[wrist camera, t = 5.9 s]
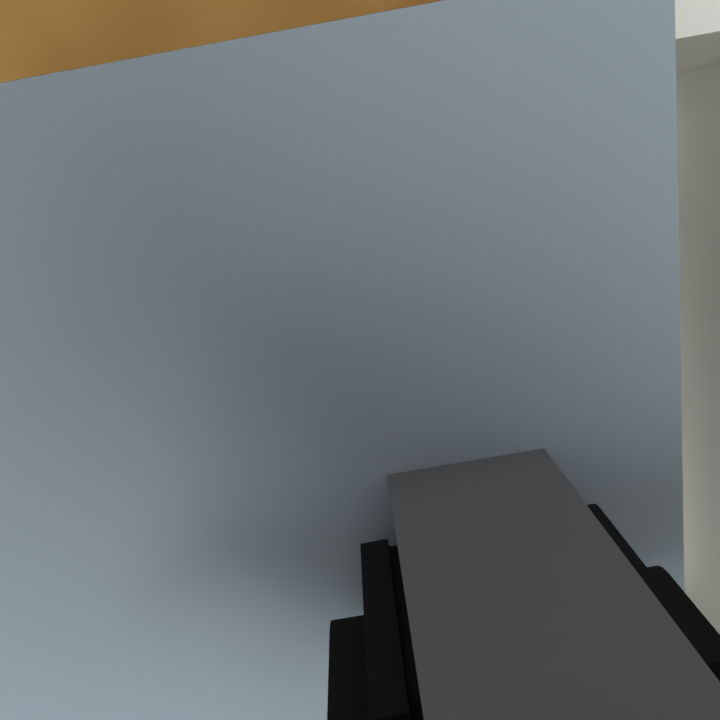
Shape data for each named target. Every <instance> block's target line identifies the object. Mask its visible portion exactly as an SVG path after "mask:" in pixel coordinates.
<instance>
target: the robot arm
mask: <svg viewBox="0 0 720 720" xmlns="http://www.w3.org/2000/svg"><path fill="white" fill-rule="evenodd" d="M587 506H588V507H589V509H590V510H591V511H592V513H593V514H594V515H595V517H596V518H597V519H598V521H599V522H600V523H601V525H602V526H603V527H604V529H605V530H606V531H607V533H608V534H609V535H610V537H611V538H612V539H613V541H614V542H615V543H616V545H617V546H618V547H619V549H620V550H621V551H622V553H623V554H624V555H625V557H626V558H627V559H628V561H629V562H630V563H631V565H632V566H633V567H634V569H635V570H636V571H637V573H638V574H639V575H640V577H641V578H642V579H643V581H644V582H645V583H646V584H647V586H648V587H649V588H650V590H651V591H652V592H653V594H654V595H655V596H656V598H657V599H658V600H659V602H660V603H661V604H662V606H663V607H664V608H665V610H666V611H667V612H668V614H669V615H670V616H671V618H672V619H673V620H674V622H675V623H676V624H677V626H678V627H679V628H680V630H681V631H682V632H683V634H684V635H685V636H686V638H687V639H688V640H689V642H690V643H691V644H692V646H693V647H694V648H695V650H696V651H697V652H698V654H699V655H700V656H701V658H702V659H703V660H704V662H705V663H706V664H707V666H708V667H709V668H710V670H711V671H712V672H713V674H714V675H715V676H716V678H717V679H718V680H719V682H720V634H719V633H718V632H717V631H716V630H715V628H714V627H713V626H712V625H711V623H710V622H709V621H708V620H707V619H706V617H705V616H704V615H703V614H702V613H701V611H700V610H699V609H698V608H697V607H696V605H695V604H694V603H693V602H692V601H691V599H690V598H689V597H688V596H687V595H686V593H685V592H684V591H683V590H682V589H681V587H680V586H679V585H678V584H677V582H676V581H675V580H674V579H673V578H672V576H671V575H670V574H669V573H668V572H667V571H666V570H665V569H664V568H663V567H661V566H658V565H657V566H651V567H646V566H645V564H644V563H643V562H642V561H641V559H640V558H639V557H638V555H637V554H636V553H635V552H634V550H633V549H632V548H631V547H630V545H629V544H628V543H627V541H626V540H625V539H624V538H623V536H622V535H621V534H620V533H619V531H618V530H617V529H616V527H615V526H614V525H613V524H612V522H611V521H610V520H609V518H608V517H607V516H606V515H605V513H604V512H603V511H602V510H601V508H600V507H599V506H598V505H597V504H589V505H587ZM360 548H361V569H362V589H363V609H364V615H360V616H354V617H348V618H342V619H336V620H331V622H330V634H329V670H328V706H327V720H424V718H423V711H422V705H421V698H420V691H419V685H418V678H417V672H416V665H415V658H414V652H413V645H412V638H411V632H410V625H409V619H408V612H407V605H406V599H405V592H404V586H403V579H402V572H401V566H400V559H399V553H398V546H397V545H394V546H389V543H388V539H384V540H378V541H372V542H366V543H361V544H360Z"/></svg>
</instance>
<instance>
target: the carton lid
mask: <svg viewBox="0 0 720 720" xmlns="http://www.w3.org/2000/svg"><path fill="white" fill-rule="evenodd" d="M589 504H597V505H598V506H599V507H600V508H601V510H602V511H603V512H604V513H605V515H606V516H607V517H608V518H609V520H610V521H611V522H612V524H613V525H614V526H615V527H616V529H617V530H618V531H619V533H620V534H621V535H622V536H623V538H624V539H625V540H626V541H627V543H628V544H629V545H630V547H631V548H632V549H633V550H634V552H635V553H636V554H637V555H638V557H639V558H640V559H641V561H642V562H643V563H644V564H645V566H646V567H651V566H657V565H658V566H661V567H663V568H664V569H665V570H666V571H667V572H668V573H669V574H670V575H671V576H672V578H673V579H674V580H675V581H676V582H677V584H678V585H679V586H680V587H681V589H682V590H683V591H684V530H683V468H682V407H681V345H680V284H679V222H678V161H677V99H676V38H675V0H443V1H438V2H433V3H427V4H422V5H417V6H411V7H406V8H400V9H395V10H390V11H384V12H379V13H374V14H368V15H363V16H357V17H352V18H347V19H341V20H336V21H331V22H325V23H320V24H314V25H309V26H304V27H298V28H293V29H288V30H282V31H277V32H271V33H266V34H261V35H255V36H250V37H245V38H239V39H234V40H228V41H223V42H218V43H212V44H207V45H202V46H196V47H191V48H185V49H180V50H175V51H169V52H164V53H159V54H153V55H148V56H142V57H137V58H132V59H126V60H121V61H116V62H110V63H105V64H99V65H94V66H89V67H83V68H78V69H73V70H67V71H62V72H56V73H51V74H46V75H40V76H35V77H30V78H24V79H19V80H13V81H8V82H3V83H0V720H327V706H328V670H329V634H330V622H331V620H336V619H342V618H348V617H354V616H360V615H364V609H363V589H362V569H361V548H360V544H361V543H366V542H372V541H378V540H384V539H388V543H389V546H394V545H397V546H398V553H399V559H400V566H401V572H402V579H403V586H404V592H405V599H406V605H407V612H408V619H409V625H410V632H411V638H412V645H413V652H414V658H415V665H416V672H417V678H418V685H419V691H420V698H421V705H422V711H423V718H424V720H720V682H719V680H718V679H717V678H716V676H715V675H714V674H713V672H712V671H711V670H710V668H709V667H708V666H707V664H706V663H705V662H704V660H703V659H702V658H701V656H700V655H699V654H698V652H697V651H696V650H695V648H694V647H693V646H692V644H691V643H690V642H689V640H688V639H687V638H686V636H685V635H684V634H683V632H682V631H681V630H680V628H679V627H678V626H677V624H676V623H675V622H674V620H673V619H672V618H671V616H670V615H669V614H668V612H667V611H666V610H665V608H664V607H663V606H662V604H661V603H660V602H659V600H658V599H657V598H656V596H655V595H654V594H653V592H652V591H651V590H650V588H649V587H648V586H647V584H646V583H645V582H644V581H643V579H642V578H641V577H640V575H639V574H638V573H637V571H636V570H635V569H634V567H633V566H632V565H631V563H630V562H629V561H628V559H627V558H626V557H625V555H624V554H623V553H622V551H621V550H620V549H619V547H618V546H617V545H616V543H615V542H614V541H613V539H612V538H611V537H610V535H609V534H608V533H607V531H606V530H605V529H604V527H603V526H602V525H601V523H600V522H599V521H598V519H597V518H596V517H595V515H594V514H593V513H592V511H591V510H590V509H589V507H588V506H587V505H589Z"/></svg>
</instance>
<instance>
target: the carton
mask: <svg viewBox="0 0 720 720" xmlns="http://www.w3.org/2000/svg"><path fill="white" fill-rule="evenodd" d="M675 38H676V99H677V161H678V222H679V284H680V345H681V407H682V468H683V530H684V592H685V593H686V595H687V596H688V597H689V598H690V599H691V601H692V602H693V603H694V604H695V605H696V607H697V608H698V609H699V610H700V611H701V613H702V614H703V615H704V616H705V617H706V619H707V620H708V621H709V622H710V623H711V625H712V626H713V627H714V628H715V630H716V631H717V632H718V633H719V634H720V0H675Z"/></svg>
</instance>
